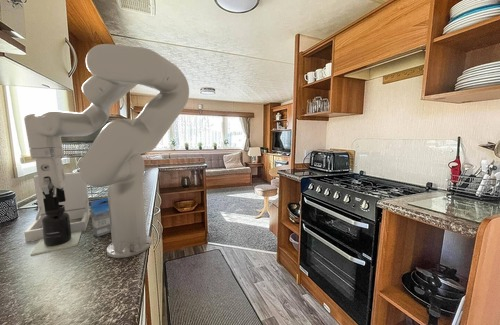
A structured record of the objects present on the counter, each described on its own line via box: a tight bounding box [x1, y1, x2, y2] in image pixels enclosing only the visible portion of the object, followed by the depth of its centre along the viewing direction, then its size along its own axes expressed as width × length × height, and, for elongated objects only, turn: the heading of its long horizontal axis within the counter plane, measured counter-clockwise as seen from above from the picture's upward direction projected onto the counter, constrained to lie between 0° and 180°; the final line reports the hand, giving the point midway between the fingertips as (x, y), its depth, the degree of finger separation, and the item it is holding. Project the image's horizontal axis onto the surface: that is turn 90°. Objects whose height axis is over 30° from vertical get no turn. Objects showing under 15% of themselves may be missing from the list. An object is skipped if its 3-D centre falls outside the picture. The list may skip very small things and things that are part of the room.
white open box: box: [24, 171, 91, 243], centre depth 82 cm, size 18×16×20 cm
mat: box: [30, 231, 83, 257], centre depth 71 cm, size 11×11×1 cm
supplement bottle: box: [41, 205, 71, 246], centre depth 70 cm, size 7×7×12 cm
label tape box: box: [89, 197, 111, 238], centre depth 78 cm, size 9×4×12 cm, turn 143°
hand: (56, 205), depth 69 cm, fingers open, 9 cm apart
